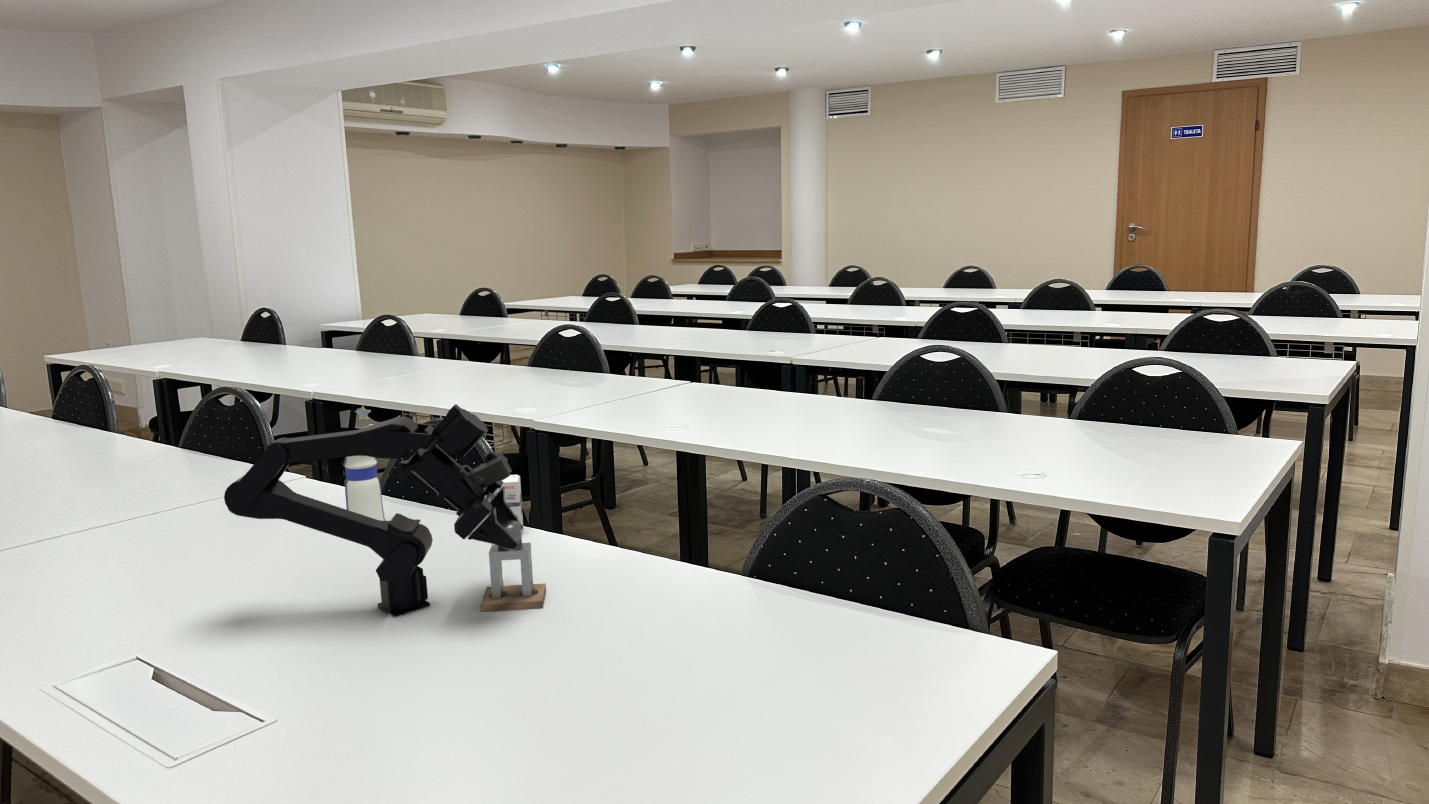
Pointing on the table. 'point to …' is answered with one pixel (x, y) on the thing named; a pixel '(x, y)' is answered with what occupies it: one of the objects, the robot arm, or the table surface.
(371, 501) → the water bottle
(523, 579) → the dividers
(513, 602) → the bolt plate
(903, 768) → the table surface
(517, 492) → the ink box
